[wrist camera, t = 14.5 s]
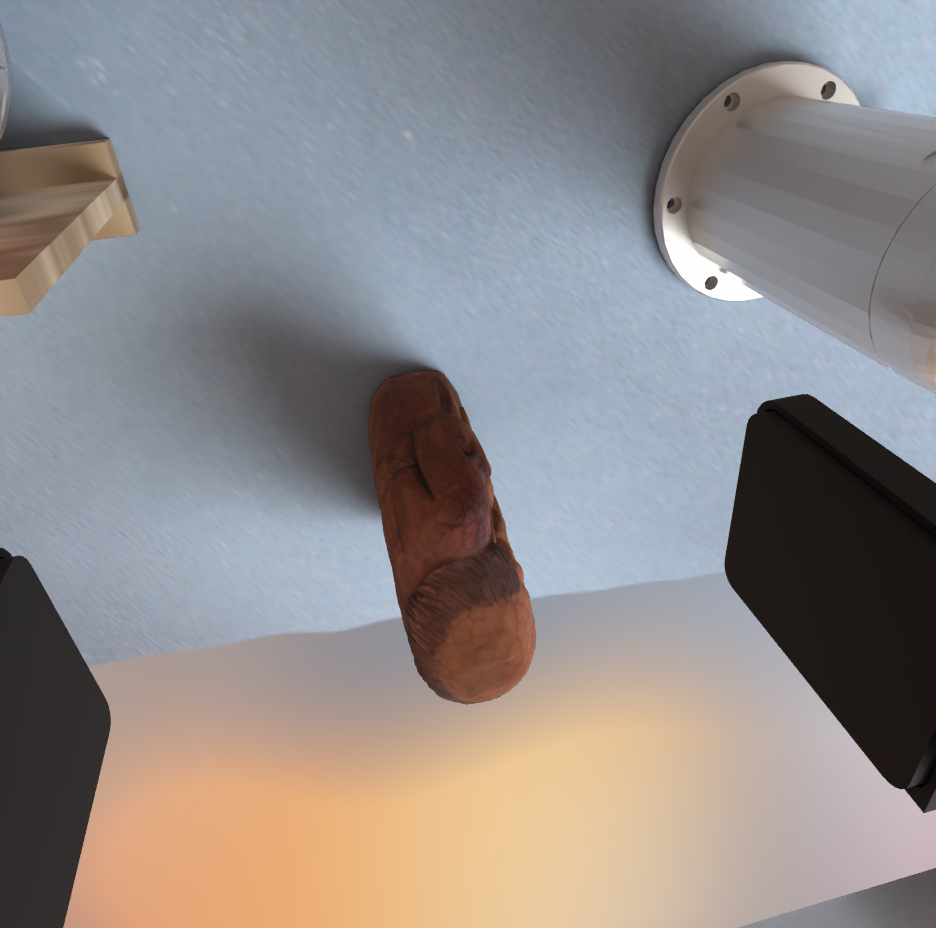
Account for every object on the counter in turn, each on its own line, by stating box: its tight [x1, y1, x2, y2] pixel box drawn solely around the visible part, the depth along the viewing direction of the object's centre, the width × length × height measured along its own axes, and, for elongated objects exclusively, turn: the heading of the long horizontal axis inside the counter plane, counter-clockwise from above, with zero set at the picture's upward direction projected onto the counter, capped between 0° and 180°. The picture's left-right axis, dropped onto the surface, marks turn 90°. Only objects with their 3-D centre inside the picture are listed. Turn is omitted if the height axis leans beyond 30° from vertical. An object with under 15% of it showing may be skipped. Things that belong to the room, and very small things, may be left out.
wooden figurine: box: [368, 370, 536, 704], centre depth 37 cm, size 12×6×18 cm, turn 7°
